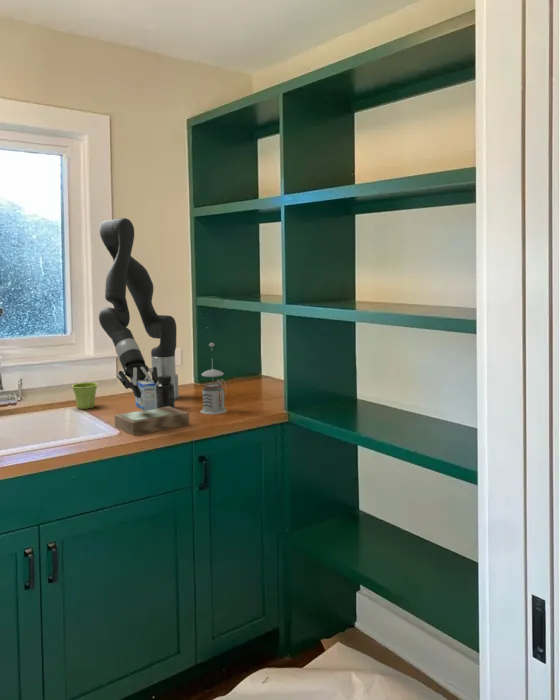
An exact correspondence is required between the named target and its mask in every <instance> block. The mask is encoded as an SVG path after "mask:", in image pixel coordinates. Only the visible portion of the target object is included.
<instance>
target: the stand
mask: <svg viewBox="0 0 560 700" xmlns="http://www.w3.org/2000/svg"><path fill="white" fill-rule="evenodd" d="M185 425H186V426H189V425H190V413H189V412H187V411H185V410H184V411H183V410H181V409H177V408H176V407H175V408H172V407H170V406H167V407H161V408H157V409H153V410H146V411H145V410H137V411H132V412H125V413H120V414H114V427H115V428H117V429H118V430H121V431H123V432H126V433H128V434H130V435H132V436H136V435H142V434H147V433H153V432H157V431H163V430H168V429H174V428H180V427H185Z"/></svg>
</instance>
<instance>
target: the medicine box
mask: <svg viewBox="0 0 560 700" xmlns="http://www.w3.org/2000/svg"><path fill="white" fill-rule="evenodd" d="M136 386H138V388H139V390H140V392H141V397H140V398H137V397H135V396H134V398H135V399H134V401H135V403H134V404H135V406H136V407H137V408H138V409H140V410H141V411H143V410H145V411H146V410H153V409H157V399H156V384H155V383H153V382H150V381H148V380H138V381H137V385H136Z"/></svg>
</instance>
